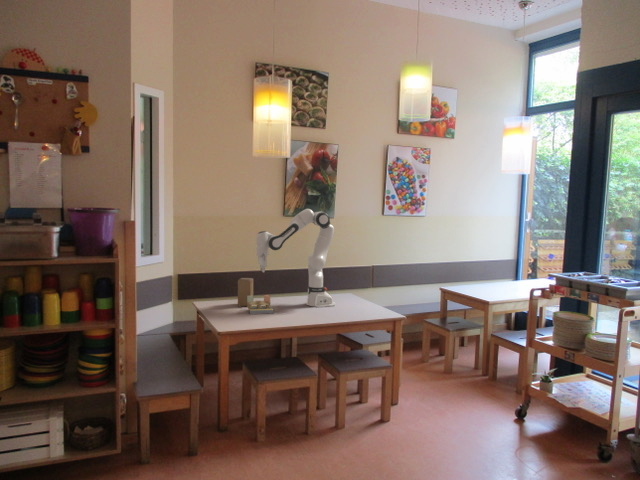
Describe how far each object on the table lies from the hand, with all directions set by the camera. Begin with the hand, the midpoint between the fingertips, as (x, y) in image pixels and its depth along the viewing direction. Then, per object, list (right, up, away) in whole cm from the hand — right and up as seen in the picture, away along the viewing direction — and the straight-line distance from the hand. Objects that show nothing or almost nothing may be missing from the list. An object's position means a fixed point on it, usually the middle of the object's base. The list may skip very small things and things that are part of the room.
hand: (262, 271), depth 366 cm
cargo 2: (+5, -21, -15) cm, 26 cm away
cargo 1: (-7, -21, -18) cm, 28 cm away
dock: (+1, -28, -15) cm, 32 cm away
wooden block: (-13, -26, +5) cm, 30 cm away
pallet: (-1, -26, -16) cm, 30 cm away
